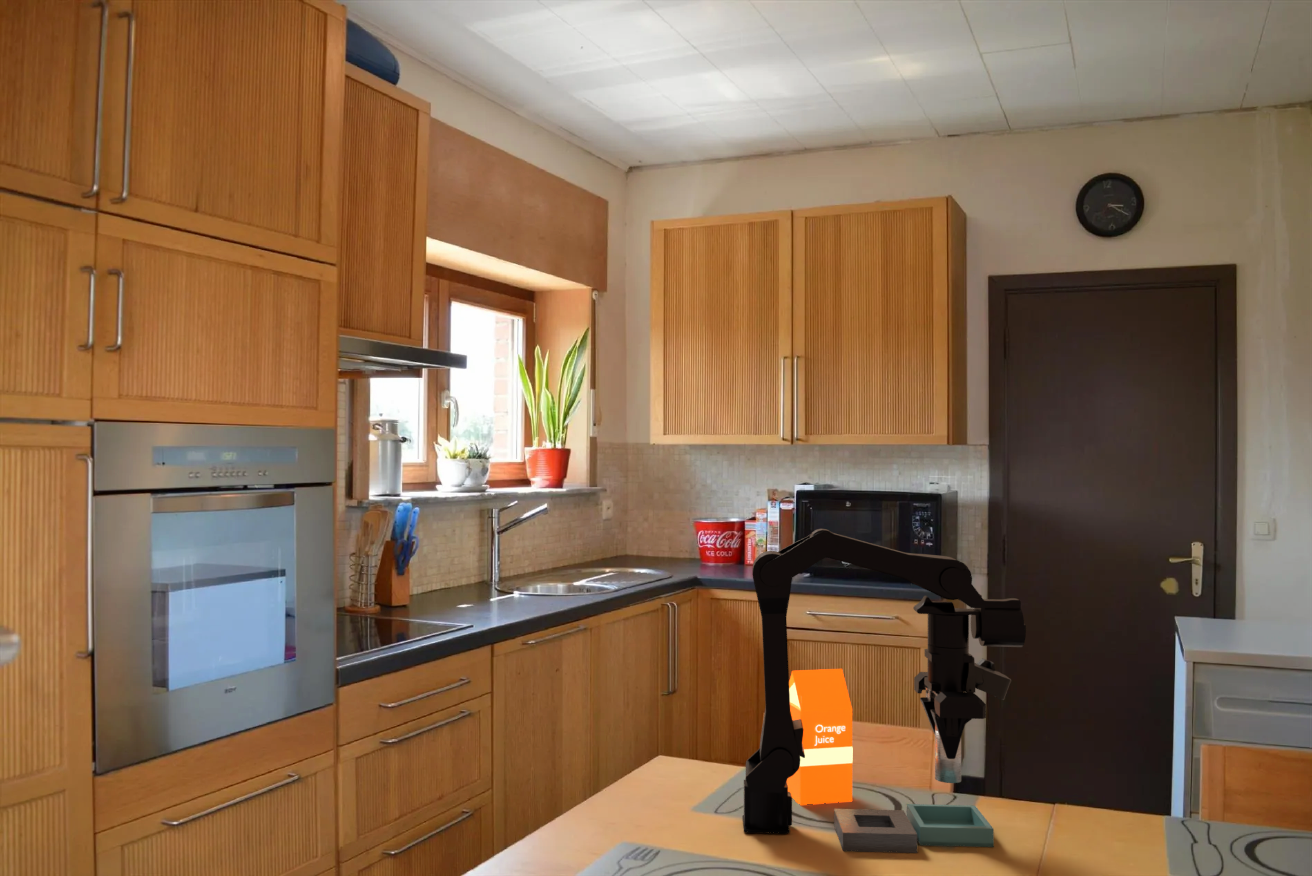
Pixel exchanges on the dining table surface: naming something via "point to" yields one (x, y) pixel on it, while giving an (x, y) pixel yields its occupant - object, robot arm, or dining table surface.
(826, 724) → the orange juice
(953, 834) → the tray
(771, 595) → the robot arm
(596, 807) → the dining table surface
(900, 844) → the grey flat square frame
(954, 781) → the pin
